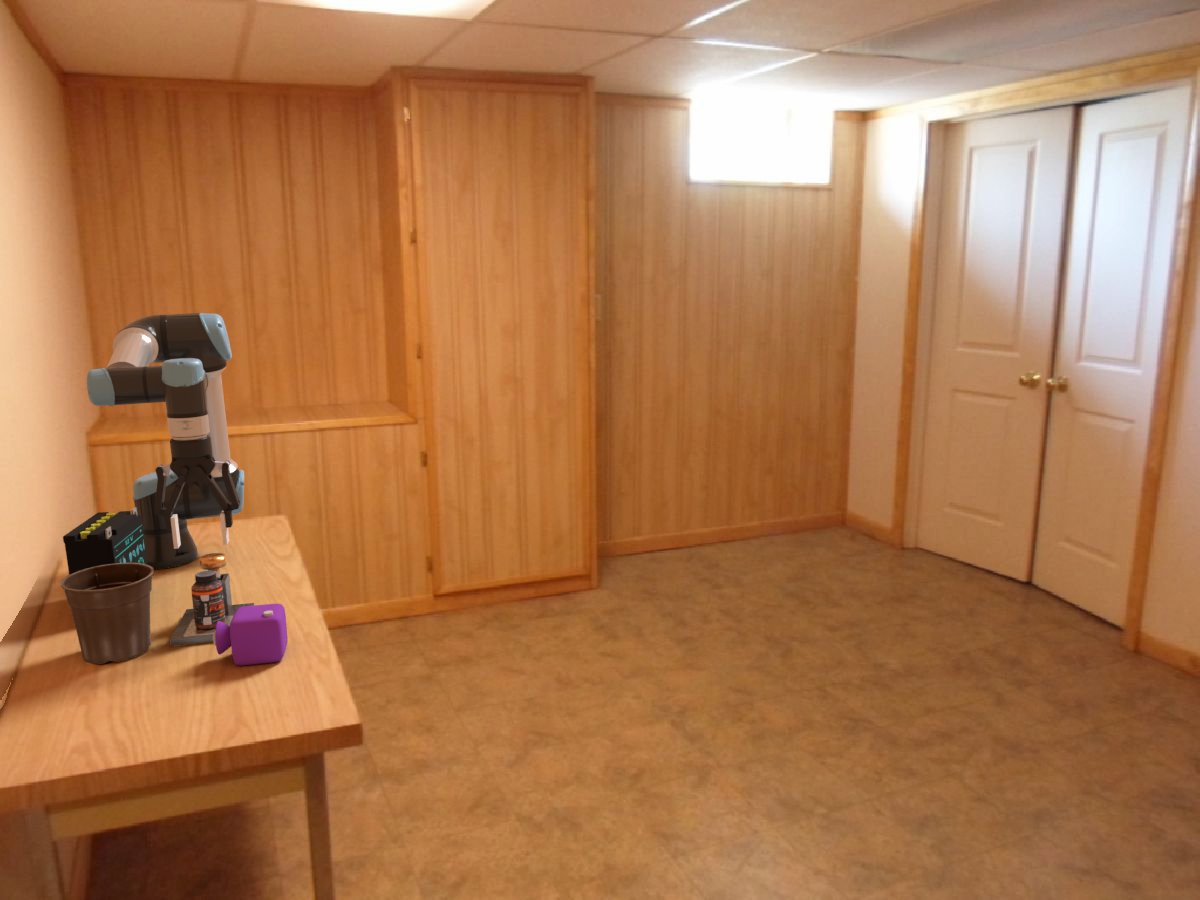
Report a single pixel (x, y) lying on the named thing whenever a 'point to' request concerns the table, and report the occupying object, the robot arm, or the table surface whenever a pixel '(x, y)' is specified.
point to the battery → (106, 541)
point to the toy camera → (254, 634)
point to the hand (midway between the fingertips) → (202, 544)
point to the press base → (193, 635)
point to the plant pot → (111, 610)
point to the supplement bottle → (207, 600)
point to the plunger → (213, 563)
